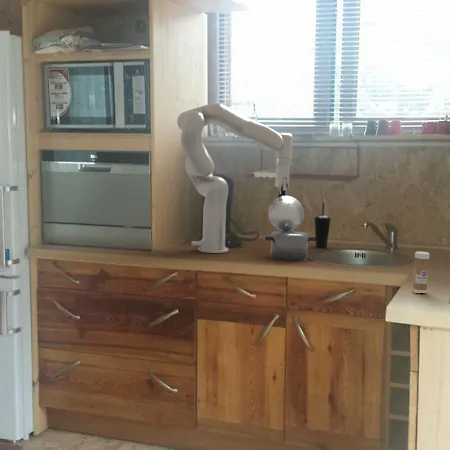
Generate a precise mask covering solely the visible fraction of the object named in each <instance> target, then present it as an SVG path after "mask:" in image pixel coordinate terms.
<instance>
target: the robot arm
mask: <svg viewBox="0 0 450 450" xmlns="http://www.w3.org/2000/svg"><path fill="white" fill-rule="evenodd" d="M176 124H177V127H178V129H180V130H181V135H180V143H181V147H182V150H183V152H184V153H185V155H186V159H185V162H184V168H185V171H186V173H187V175H188V177H189V179H190V180H191V183H192V184H193V186H194V188H195V190H196V191H197V192H198V194H200V195H201V196H202V197H204V202H203V209H202V213H203V214H202V215H203V217H202V239H201V240H196V241H193V240H191V246H192V247H198V251H199V252H202V253H208V254H222V253H228V252H229V248H228V247H226V221H227V219H226V217H227V200H228V195H229V185H228V182H227V181H226V180H225V179H224V178H223V177H220V176H217V175H213V173H214V171H215V164H214V163H215V162H214V161H213V158H212V157H211V155H210V154H209V152H208V150H207V148H206V146H205V145H204V142H203V139H202V134H203V129H204V128H205V127H206V126H209V125H212V124H213V125H216V126H219V127H220V128H222V129H224V130H226V131H228V132H229V133H232V134H234V135H236V136H237V137H240V138H243V139H249V140H252V141H255V143H256V146H257V147H258V148H260V149H261V150H264V151H265V150H266V151H274V165H275V174H277V178H275V177H274V187H276V188H278V195H277V196H278V197H281V196H287V188H289V187H290V166H292V165H293V134H291V133H288V132H277V131H275V130H273V129H272V128H270V127H269V126H267V125H265V124H262V123H260V122H258V121H255V120H253V119H251V118H249V117H246V116H244V115H243V114H241V113H239V112H237V111H235V110H233V109H232V108H230V107H228V106H227V105H224V104H222V103H218V102H217V103H216V102H215V103H207V104H205V105H202V106H199V107H196V108H192V109H190V110H189V109H188V110H186V111H182V112H181V113H180V114H179V115H178V117H177V120H176ZM278 197H277V198H278Z"/></svg>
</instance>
